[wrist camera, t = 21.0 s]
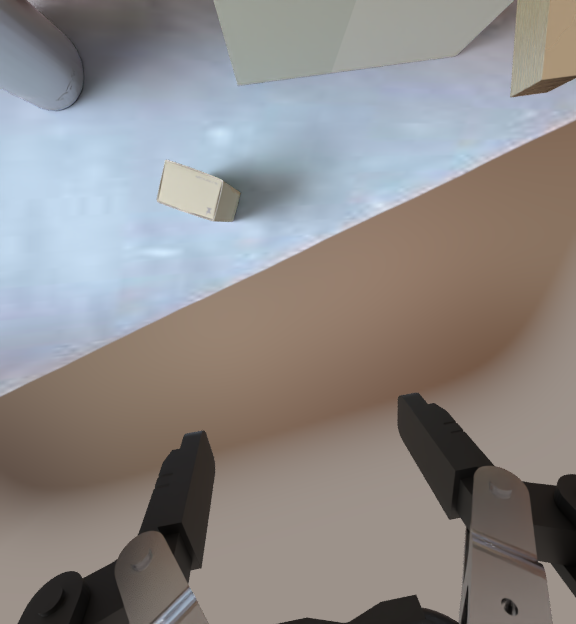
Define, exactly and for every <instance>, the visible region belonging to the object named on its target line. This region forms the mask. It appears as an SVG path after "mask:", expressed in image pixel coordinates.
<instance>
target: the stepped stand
mask: <svg viewBox="0 0 576 624" xmlns="http://www.w3.org/2000/svg"><path fill="white" fill-rule="evenodd" d="M213 1H214V4H215V8H216V11H217V15H218V18H219V22H220V25H221V29H222V32H223V36H224V39H225V43H226V46H227V50H228V53H229V57H230V60H231V64H232V67H233V71H234V74H235V78H236V81H237V85H238V86H240V85H248V84H255V83H263V82H270V81H277V80H285V79H292V78H299V77H307V76H314V75H322V74H329V73H336V72H344V71H351V70H358V69H366V68H373V67H381V66H388V65H395V64H403V63H410V62H417V61H425V60H432V59H440V58H447V57H454V56H456V55H457V54H459V53H460V52H461V51H462V50H463V49H464V48H465V47H466V46H467V45H468V44H469V43H470V42H471V41H472V40H473V39H474V38H475V37H476V36H477V35H478V34H479V33H481V32H482V31H483V30H484V29H485V28H486V27H487V26H488V25H489V24H490V23H491V22H492V21H493V20H494V19H495V18H496V17H497V16H498V15H499V14H500V13H501V12H503V11H504V10H505V9H506V8H507V7H508V6H509V5H510V4H511V3H512V2H513V1H514V0H213Z"/></svg>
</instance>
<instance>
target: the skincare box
mask: <svg viewBox="0 0 576 624" xmlns="http://www.w3.org/2000/svg"><path fill="white" fill-rule="evenodd" d="M240 194H241V193H240V192H239V191H238V190H236V189H234V188H233V187H232V186H230V185H229V184H227V183H226V182H224V181H223V180H222V179H219V178H217V177H215V176H212V175H209V174H207V173H204V172H202V171H199V170H196V169H193V168H190V167H188V166H185V165H182V164H179V163H176V162H173V161H169V160H165V164H164V168H163V172H162V177H161V181H160V186H159V190H158V195H157V202H159V203H161V204H164V205H166V206H169V207H172V208H175V209H177V210H180V211H183V212H186V213H189V214H192V215H195V216H198V217H201V218H204V219H207V220H211V221H220V222H233V220H234V216H235V213H236V209H237V206H238V202H239V198H240Z"/></svg>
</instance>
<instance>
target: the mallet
mask: <svg viewBox="0 0 576 624" xmlns="http://www.w3.org/2000/svg"><path fill="white" fill-rule="evenodd" d="M575 78H576V0H517V13H516V27H515V40H514V54H513V67H512V81H511V94H510V97H517V96H524V95H532V94H539V93H546V92H549V91H551V90H553V89H555V88H557V87H559V86H561V85H563V84H565V83H567V82H569V81H571V80H573V79H575Z"/></svg>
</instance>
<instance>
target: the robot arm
mask: <svg viewBox="0 0 576 624" xmlns="http://www.w3.org/2000/svg"><path fill="white" fill-rule="evenodd" d="M83 80H84V76H83V67H82V62H81V59H80V57H79V54H78V52H77V50H76V48H75V47H74V45H73V44H72V42H71V41H70V40H69V39H68V38H67V36H66V35H65V34H64V33H62V32H61V31H60V30H59V29H58V28H57V27H56V26H55V25H54V24H52V23H51V22H50V21H49V20H48V19H47V18H46V17H45V16H44V15H42V14H41V13H40V12H39V11H38V10H37V9H36V8H35V7H34V6H33V5H31V4H30V3H29V2H28V1H27V0H0V89H2V90H4V91H6V92H8V93H10V94H12V95H14V96H16V97H18V98H20V99H22V100H24V101H27V102H29V103H31V104H33V105H35V106H37V107H39V108H42V109H45V110H52V111H57V110H62V109H65V108H67V107H69V106H70V105H71V104H73V103H74V102H75V101H76V99H77V98H78V96H79V95H80V92H81V90H82V87H83ZM398 429H399V433H400V436H401V438H402V440H403V442H404V444H405V445H406V447H407V449H408V450H409V452H410V454H411V456H412V457H413V459H414V460H415V462H416V464H417V466H418V467H419V469H420V471H421V472H422V474H423V476H424V477H425V479H426V481H427V483H428V484H429V486H430V488H431V489H432V491H433V493H434V494H435V496H436V498H437V500H438V501H439V503H440V505H441V506H442V508H443V510H444V511H445V513H446V515H447V516H448V518H449V519H450V520H451V519H456V518H461V519H462V521H463V522H464V524H465V525H466V530H465V545H464V561H463V577H462V591H461V601H460V611H459V623H458V622H457V621H455V620H453V619H451V618H450V617H448V616H446V615H444V614H441V613H439V612H437V611H433V610H430V609H427V608H421V606H420V603H419V601H418V598H417V596H416V595H412V596H407V597H402V598H398V599H393V600H388V601H384V602H380V603H379V604H377V605H375V606H374V607H372V608H371V609H369V610H367V611H366V612H364V613H363V614H361V615H360V616H358V617H356V618H355V619H353V620H352V621H350V622H348V623H339V622H333V621H326V620H319V619H312V618H303V619H298V620H293V621H288V622H284V623H279V624H553V622H552V615H551V608H550V601H549V594H548V586H547V579H546V573H545V569H544V567H543V565H542V564H541V563H538V561H543V562H548V563H551V564H552V566H553V567H554V568H555V570H556V571H557V573H558V574H559V575H560V577H561V578H562V579H563V581H564V582H565V583H566V585H567V586H568V587H569V589H570V590H571V592H572V593H573V594H574V595H575V597H576V475H575V474H570V475H564V476H562V477H560V479H559V480H558V482H557V486H554V485H546V484H536V483H529V482H523V481H521V480H520V479H519V478H518V477H517V476H515V475H514V474H512V473H511V472H509V471H507V470H505V469H502V468H500V467H496V466H494V465H493V464H492V462H491V461H490V460H489V459H488V458H487V457H486V456H485V454H484V453H483V452H482V451H481V450H480V449H479V448H478V447H477V445H476V444H475V443H474V442H473V441H472V440H471V438H470V437H469V436H468V435H467V434H466V433H465V432H463V429H462V428H461V427H460V426H459V425H458V424H457V423H456V422H455V420H454V419H453V418H452V417H451V415H450V414H449V413H448V412H447V411H446V410H444V409H443V408H441V407H439V406H438V405H436V404H435V403H432V404H427V403H426V401H425V400H424V399H423V398H422V396H421V395H420V394H419V393H412V394H406V395H401V396H399V397H398ZM214 477H215V461H214V456H213V453H212V450H211V447H210V444H209V441H208V438H207V435H206V432H205V431H198V432H193V433H187V434H185V435H184V437H183V440H182V444H181V447H180V449H176V450H172V451H171V452H170V454H169V455H168V456H167V458H166V459H165V461H164V462H163V464H162V467H161V470H160V473H159V478H158V479H157V482H156V484H155V489H154V490H153V494H152V496H151V499H150V502H149V505H148V508H147V511H146V514H145V517H144V520H143V523H142V526H141V528H140V531H139V534H138V536H137V537H135V538H134V539H132V540H131V541H130V542H129V543H128V544H127V546H125V548H124V549H123V550H122V552H121V553H120V555H119V557H118V559H117V560H116V561H115V562H113V563H111V564H109V565H107V566H105V567H103V568H102V569H100V570H98V571H96V572H94V573H92V574H90V575H88V576H87V577H85V578H82V577H81V575H80V574H79V573H77V572H74V571H69V572H65V573H62V574H60V575H58V576H56V577H54V578H53V579H51V580H50V581H49V582H47V583H46V584H45V585H44V586H43V587H42V588H41V589H40V590H39V591H38V592H37V593H36V594H35V595H34V597H33V598H32V599H31V601H30V602H29V604H28V605H27V607H26V609H25V611H24V612H23V614H22V616H21V618H20V620H19V622H18V624H209V623H208V621H207V619H206V617H205V615H204V613H203V611H202V609H201V608H200V606H199V604H198V602H197V600H196V598H195V596H194V594H193V592H192V591H191V589H190V587H189V585H188V582H189V577H190V571H191V570H194V569H199V568H201V567H202V560H203V553H204V546H205V539H206V533H207V526H208V519H209V512H210V505H211V498H212V491H213V483H214Z"/></svg>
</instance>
